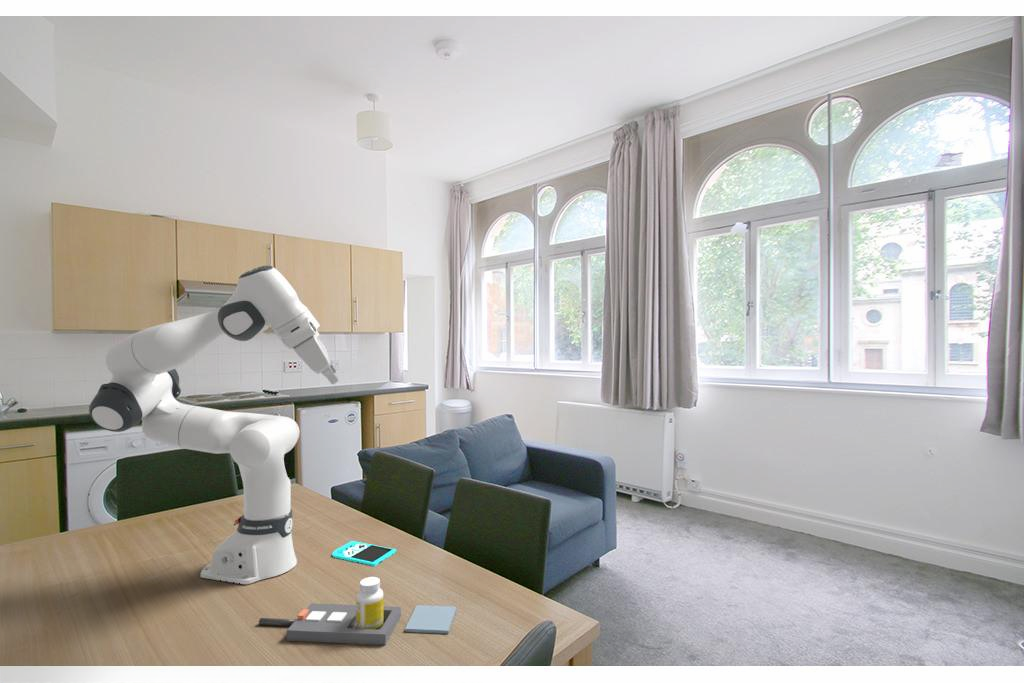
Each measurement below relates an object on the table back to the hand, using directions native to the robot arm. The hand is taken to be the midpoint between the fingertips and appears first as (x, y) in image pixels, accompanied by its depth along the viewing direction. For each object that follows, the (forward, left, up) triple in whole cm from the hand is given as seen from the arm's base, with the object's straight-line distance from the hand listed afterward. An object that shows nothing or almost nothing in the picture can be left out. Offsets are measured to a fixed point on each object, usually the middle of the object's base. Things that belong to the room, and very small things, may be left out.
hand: (334, 377), depth 115 cm
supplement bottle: (+14, -14, -51) cm, 55 cm away
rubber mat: (+26, -10, -51) cm, 58 cm away
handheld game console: (-1, +21, -52) cm, 55 cm away
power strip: (+5, -14, -51) cm, 53 cm away
